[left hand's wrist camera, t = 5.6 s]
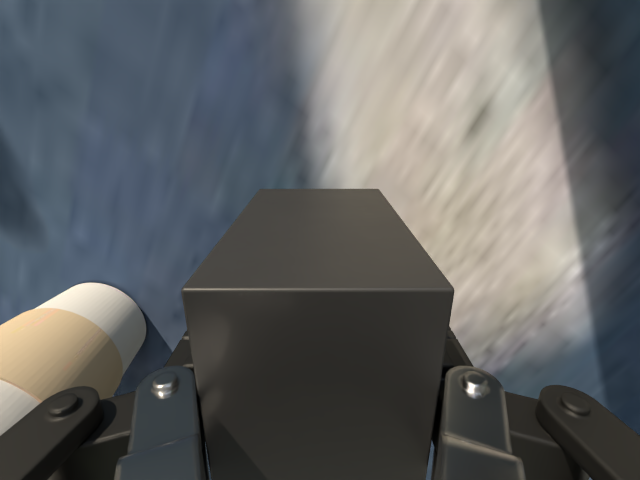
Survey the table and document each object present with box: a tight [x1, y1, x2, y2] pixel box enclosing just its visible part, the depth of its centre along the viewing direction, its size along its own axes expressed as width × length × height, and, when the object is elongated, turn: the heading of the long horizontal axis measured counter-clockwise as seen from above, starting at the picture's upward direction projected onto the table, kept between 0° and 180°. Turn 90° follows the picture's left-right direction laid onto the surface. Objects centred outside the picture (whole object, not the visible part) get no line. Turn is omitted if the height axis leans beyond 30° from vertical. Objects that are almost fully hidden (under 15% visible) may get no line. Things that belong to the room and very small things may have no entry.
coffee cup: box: [0, 283, 146, 436], centre depth 19 cm, size 9×9×15 cm
